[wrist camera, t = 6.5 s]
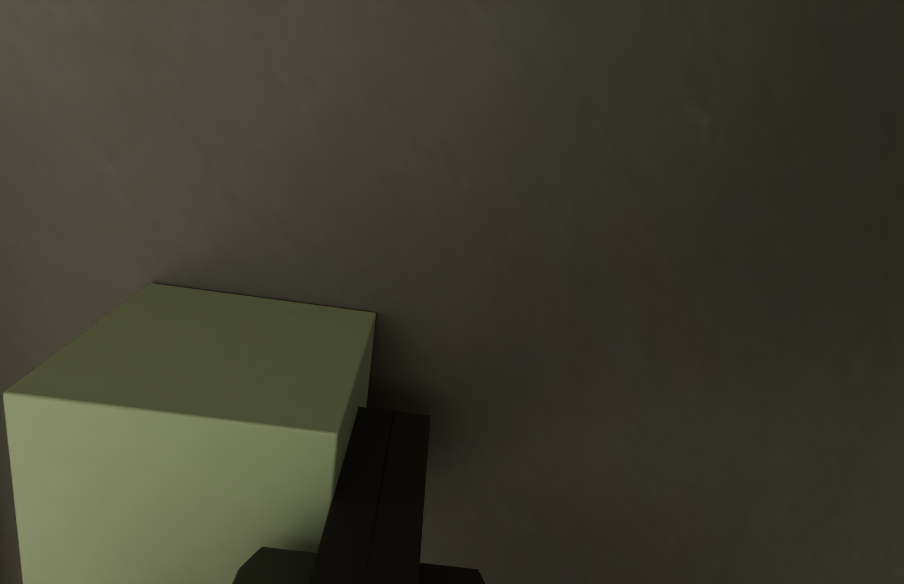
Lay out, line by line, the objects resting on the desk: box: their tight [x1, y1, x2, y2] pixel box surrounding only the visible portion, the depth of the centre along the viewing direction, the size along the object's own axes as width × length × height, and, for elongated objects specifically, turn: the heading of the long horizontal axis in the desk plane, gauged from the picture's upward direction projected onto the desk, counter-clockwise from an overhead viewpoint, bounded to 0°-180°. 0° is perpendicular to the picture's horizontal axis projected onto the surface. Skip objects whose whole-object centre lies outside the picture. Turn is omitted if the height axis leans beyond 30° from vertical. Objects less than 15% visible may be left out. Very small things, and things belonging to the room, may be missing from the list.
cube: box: [3, 283, 376, 584], centre depth 13 cm, size 5×5×5 cm
